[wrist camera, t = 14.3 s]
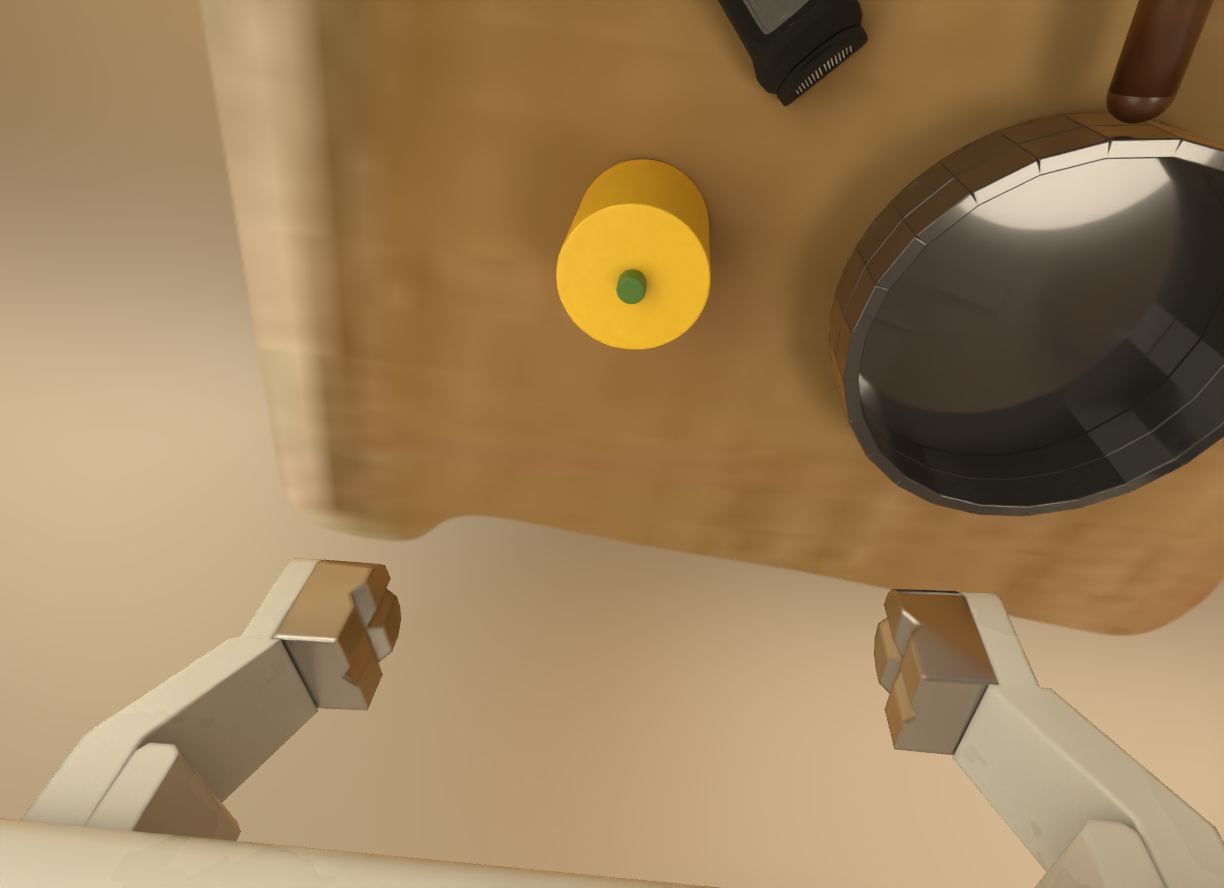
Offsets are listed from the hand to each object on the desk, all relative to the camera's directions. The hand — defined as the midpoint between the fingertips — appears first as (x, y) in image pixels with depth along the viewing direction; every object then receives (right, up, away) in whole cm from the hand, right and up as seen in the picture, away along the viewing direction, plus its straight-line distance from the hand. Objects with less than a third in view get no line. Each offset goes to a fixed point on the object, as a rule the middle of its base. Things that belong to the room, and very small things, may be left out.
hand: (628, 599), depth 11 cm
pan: (+17, +8, +18) cm, 26 cm away
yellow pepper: (+1, +11, +17) cm, 21 cm away
